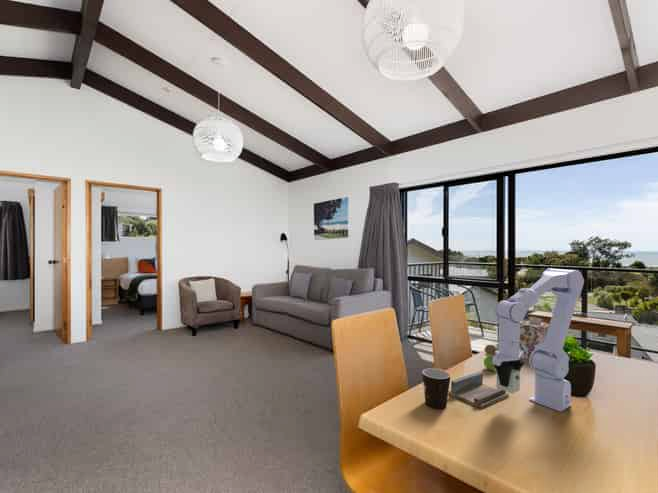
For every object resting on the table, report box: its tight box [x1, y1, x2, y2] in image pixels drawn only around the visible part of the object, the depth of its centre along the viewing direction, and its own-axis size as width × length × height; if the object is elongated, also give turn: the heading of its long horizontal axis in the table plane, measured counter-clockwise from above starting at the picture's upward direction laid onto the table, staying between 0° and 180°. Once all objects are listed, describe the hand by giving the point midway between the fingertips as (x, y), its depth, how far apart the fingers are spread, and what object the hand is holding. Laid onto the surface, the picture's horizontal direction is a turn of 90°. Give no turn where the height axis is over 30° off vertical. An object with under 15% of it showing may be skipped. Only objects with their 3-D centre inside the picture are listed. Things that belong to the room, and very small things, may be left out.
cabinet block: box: [496, 369, 521, 394], centre depth 105 cm, size 6×4×6 cm
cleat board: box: [448, 371, 510, 410], centre depth 116 cm, size 12×16×5 cm
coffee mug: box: [421, 367, 452, 410], centre depth 107 cm, size 12×9×10 cm
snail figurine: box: [483, 343, 499, 371], centre depth 140 cm, size 5×6×12 cm
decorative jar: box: [519, 317, 551, 361], centre depth 156 cm, size 12×12×18 cm
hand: (508, 384), depth 105 cm, fingers closed on cabinet block, 4 cm apart
